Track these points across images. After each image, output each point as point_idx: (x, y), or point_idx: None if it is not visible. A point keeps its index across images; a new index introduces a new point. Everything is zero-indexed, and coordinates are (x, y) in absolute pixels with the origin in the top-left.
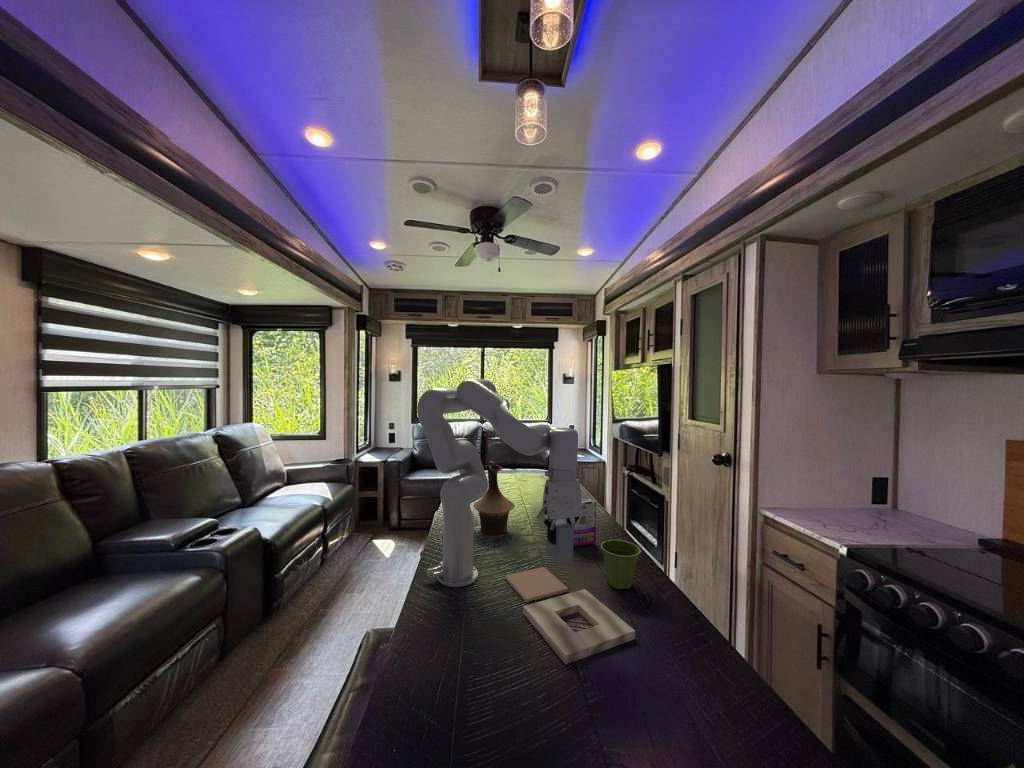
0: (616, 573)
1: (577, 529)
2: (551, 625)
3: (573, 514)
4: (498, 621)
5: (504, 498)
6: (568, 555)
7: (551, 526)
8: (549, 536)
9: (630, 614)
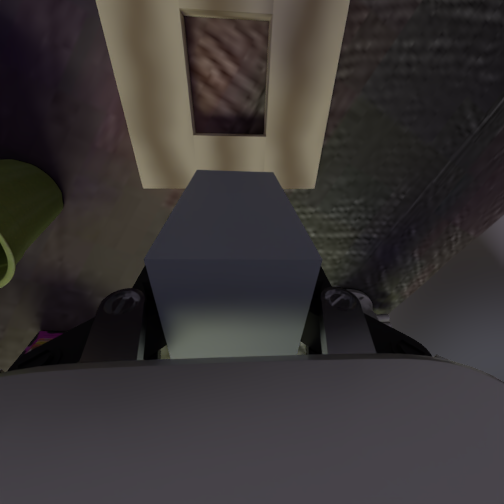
0: (15, 183)
1: None
2: (307, 84)
3: (75, 414)
4: (364, 181)
5: None
6: (219, 176)
7: (358, 309)
8: None
9: (46, 45)
